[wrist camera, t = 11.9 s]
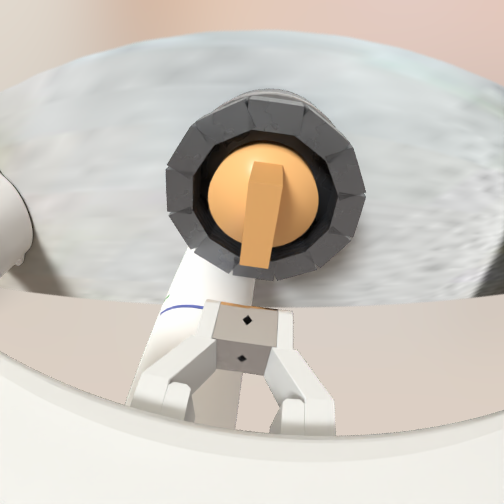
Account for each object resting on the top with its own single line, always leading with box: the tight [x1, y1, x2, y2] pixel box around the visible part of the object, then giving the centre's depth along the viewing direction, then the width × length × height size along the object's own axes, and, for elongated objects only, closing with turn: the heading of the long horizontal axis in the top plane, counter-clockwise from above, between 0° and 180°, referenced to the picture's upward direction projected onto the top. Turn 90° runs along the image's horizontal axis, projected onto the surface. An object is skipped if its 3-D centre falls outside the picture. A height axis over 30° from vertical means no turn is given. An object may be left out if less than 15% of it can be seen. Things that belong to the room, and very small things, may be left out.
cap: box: [208, 140, 319, 269], centre depth 17 cm, size 7×7×5 cm
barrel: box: [166, 89, 366, 281], centre depth 21 cm, size 12×12×10 cm
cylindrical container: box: [125, 246, 255, 429], centre depth 22 cm, size 7×7×25 cm
